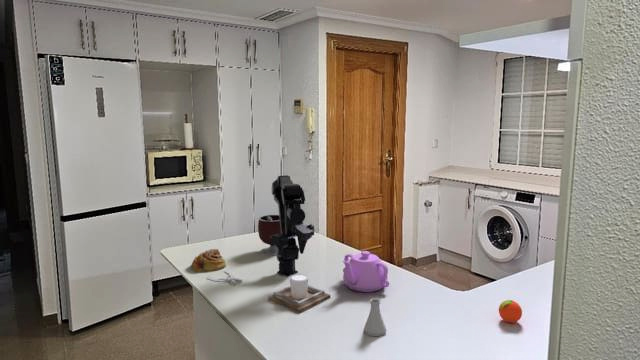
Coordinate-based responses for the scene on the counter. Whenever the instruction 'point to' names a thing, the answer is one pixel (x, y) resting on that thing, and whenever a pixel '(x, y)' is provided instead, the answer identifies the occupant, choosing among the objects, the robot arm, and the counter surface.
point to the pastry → (208, 261)
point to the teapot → (365, 272)
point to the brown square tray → (299, 305)
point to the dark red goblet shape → (268, 232)
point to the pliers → (228, 279)
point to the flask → (375, 320)
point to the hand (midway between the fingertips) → (293, 256)
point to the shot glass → (299, 286)
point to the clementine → (510, 311)
